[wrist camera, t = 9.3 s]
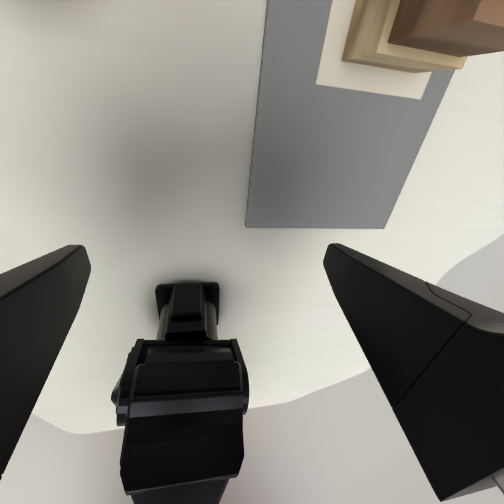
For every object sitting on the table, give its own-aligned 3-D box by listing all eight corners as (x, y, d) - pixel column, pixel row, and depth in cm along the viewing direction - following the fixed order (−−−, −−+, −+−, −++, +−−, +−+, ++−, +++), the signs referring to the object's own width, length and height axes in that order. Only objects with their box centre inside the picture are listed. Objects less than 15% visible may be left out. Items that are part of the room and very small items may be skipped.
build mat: (381, 227, 26) (384, 229, 25) (245, 225, 23) (246, 227, 22) (527, -106, 14) (536, -112, 14) (287, -204, 11) (290, -215, 11)
